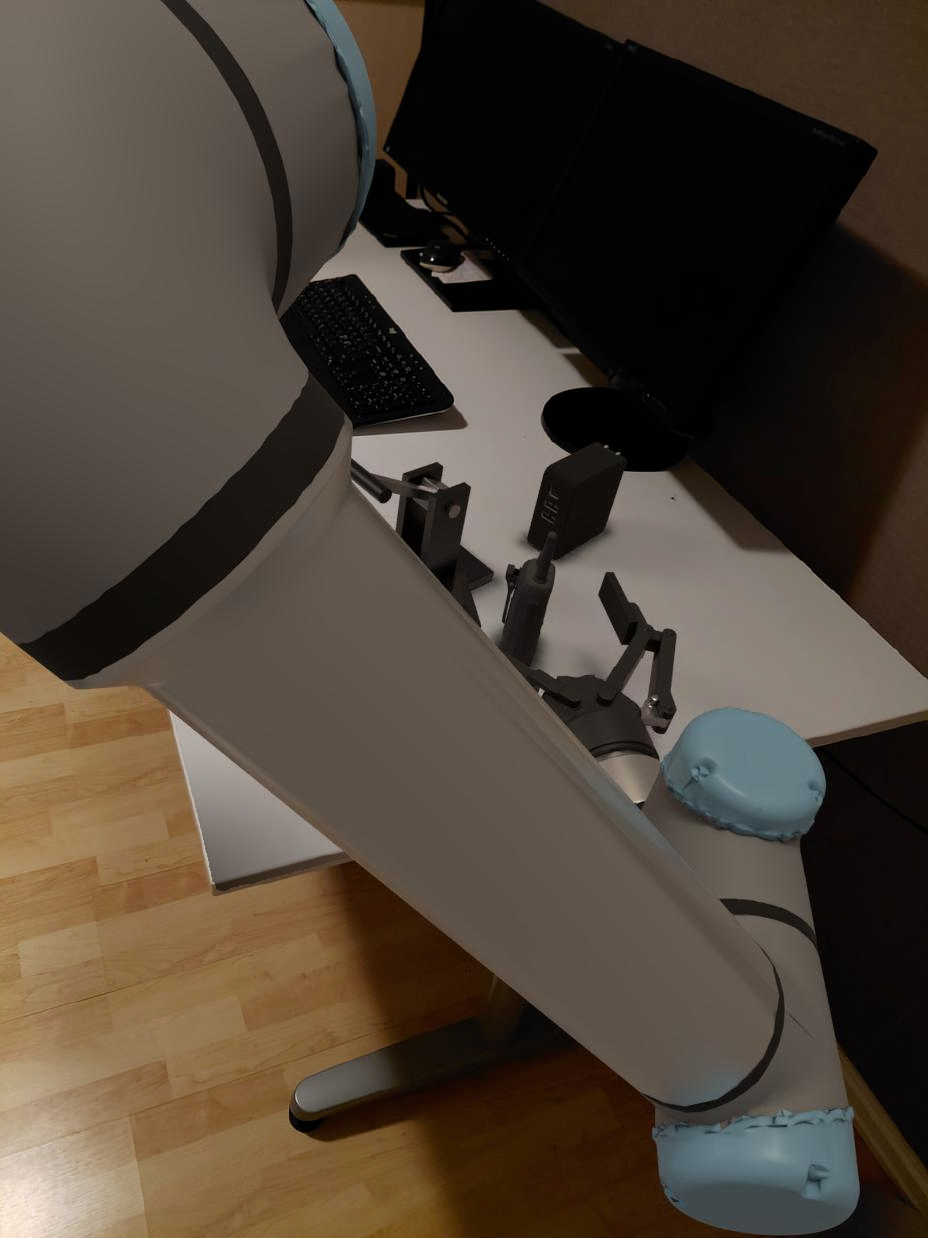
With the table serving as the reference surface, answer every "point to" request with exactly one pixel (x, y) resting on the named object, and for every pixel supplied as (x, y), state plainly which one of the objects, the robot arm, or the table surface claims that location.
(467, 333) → the table surface
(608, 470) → the electronic device
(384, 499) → the lever
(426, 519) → the bracket
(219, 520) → the robot arm
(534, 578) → the two-way radio
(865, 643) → the table surface
